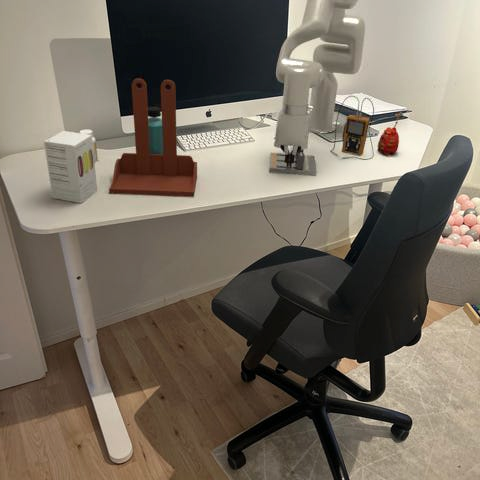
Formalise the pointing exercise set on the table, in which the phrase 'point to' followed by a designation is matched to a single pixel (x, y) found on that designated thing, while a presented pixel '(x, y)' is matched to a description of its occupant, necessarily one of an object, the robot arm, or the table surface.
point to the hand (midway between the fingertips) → (288, 164)
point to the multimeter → (355, 133)
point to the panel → (281, 167)
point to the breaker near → (300, 160)
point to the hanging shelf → (154, 165)
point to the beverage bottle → (155, 131)
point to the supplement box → (71, 166)
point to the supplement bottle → (92, 142)
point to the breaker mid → (297, 154)
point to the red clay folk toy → (389, 141)
